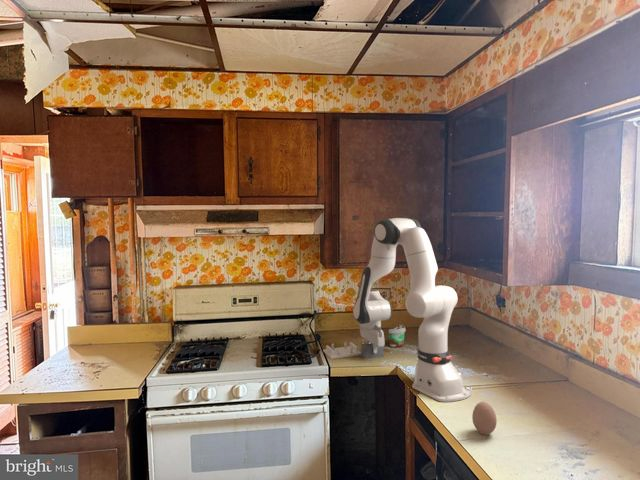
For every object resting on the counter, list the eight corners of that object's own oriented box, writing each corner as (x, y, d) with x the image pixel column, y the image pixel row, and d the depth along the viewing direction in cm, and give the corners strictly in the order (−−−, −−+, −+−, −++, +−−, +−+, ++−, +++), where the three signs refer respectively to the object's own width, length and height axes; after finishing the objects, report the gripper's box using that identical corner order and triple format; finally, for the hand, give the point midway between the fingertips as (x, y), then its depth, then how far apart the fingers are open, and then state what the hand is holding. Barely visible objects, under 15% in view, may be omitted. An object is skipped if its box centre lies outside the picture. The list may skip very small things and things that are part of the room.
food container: (399, 350, 197) (399, 330, 197) (388, 348, 201) (388, 329, 201) (409, 343, 207) (409, 325, 207) (399, 342, 211) (399, 323, 210)
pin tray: (361, 354, 192) (361, 346, 192) (331, 359, 187) (330, 350, 187) (352, 347, 203) (352, 340, 203) (323, 351, 198) (323, 343, 198)
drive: (383, 356, 189) (383, 343, 189) (364, 358, 186) (364, 345, 186) (380, 353, 193) (379, 340, 193) (361, 356, 190) (361, 343, 189)
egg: (490, 427, 122) (489, 396, 121) (500, 439, 115) (500, 406, 115) (468, 428, 122) (468, 397, 121) (478, 440, 115) (478, 407, 114)
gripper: (387, 327, 180) (388, 356, 180) (368, 317, 199) (369, 344, 200) (375, 328, 178) (375, 358, 178) (357, 318, 197) (358, 345, 198)
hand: (372, 350), depth 189 cm, fingers closed on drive, 4 cm apart
